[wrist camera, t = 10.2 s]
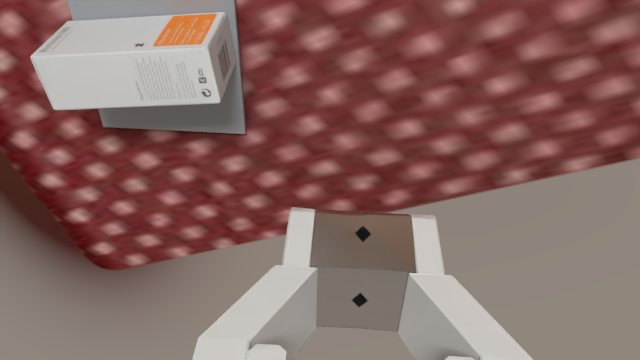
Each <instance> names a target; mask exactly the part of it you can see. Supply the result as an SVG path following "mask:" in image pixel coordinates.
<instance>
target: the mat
mask: <svg viewBox="0 0 640 360" xmlns="http://www.w3.org/2000/svg"><path fill="white" fill-rule="evenodd" d="M67 1H68V5H69V8H70V12H71V15H72V19H73V21H79V20H96V19H112V18H128V17H144V16H162V15H180V14H196V13H215V12H225V13H226V15H227V19H228V25H229V30H230V35H231V40H232V45H233V50H234V55H235V60H236V64H235V66H234V68H233V71H232V74H231V76H230V79H229V81H228V84H227V87H226V89H225V92H224V94H223V97H222V100H221V102H220V103H218V104H196V105H172V106H145V107H122V108H98V110H99V114H100V117H101V121H102V124H103V127H114V128H134V129H154V130H174V131H194V132H214V133H234V134H245V133H246V121H245V109H244V97H243V85H242V73H241V60H240V48H239V36H238V24H237V12H236V0H67Z"/></svg>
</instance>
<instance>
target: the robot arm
mask: <svg viewBox="0 0 640 360" xmlns="http://www.w3.org/2000/svg"><path fill="white" fill-rule="evenodd" d="M317 326H318V327H345V328H363V329H374V330H385V331H396V332H398V335H399V336H400V338H401V339H402V341H403V342H404V344H405V346H406V347H407V349H408V350H409V351H410V353H411V355H412V356H413V358H414V359H415V360H533V359H532V358H531V357H530V356H529V355H528V354H527V353H526V352H525V351H524V350H523V349H522V348H521V347H520V345H518V343H517V342H516V341H515V340H514V339H513V338H512V337H511V336H510V335H509V334H508V333H507V332H506V331H505V330H504V329H503V328H502V327H501V326H500V325H499V324H498V323H497V322H496V321H495V319H494V318H493V317H492V316H491V315H490V314H489V313H488V312H487V311H486V310H485V309H484V308H483V307H482V306H481V305H480V304H479V303H478V302H477V301H476V300H475V299H474V298H473V297H472V296H471V294H470V293H469V292H468V291H467V290H466V289H465V288H464V287H463V286H462V285H461V284H460V283H459V282H458V281H457V280H456V279H455V278H454V277H453V276H450V275H445V271H444V265H443V258H442V252H441V245H440V240H439V232H438V226H437V220H436V218H435V216H434V215H415V214H410V215H408V214H389V213H368V212H351V211H338V210H325V209H316V210H315V209H306V208H294V207H292V208H291V211H290V214H289V221H288V227H287V234H286V241H285V247H284V254H283V261H282V265H274V266H273V267H272V268H271V269H270V270H269V271H268V272H267V273H266V274H265V275H264V276H263V277H262V278H261V279H260V280H259V281H258V282H257V283H256V284H254V285H253V286H252V287H251V288H250V289H249V290H248V291H247V292H246V293H245V294H244V295H243V296H242V297H241V298H240V299H239V300H238V301H237V302H236V303H234V305H232V306H231V307H230V308H229V309H228V310H227V311H226V312H225V313H224V314H223V315H222V316H221V317H220V318H219V319H218V320H217V321H216V322H215V323H213V324H212V325H211V327H209V328H208V329H207V330H206V331H205V332H204V333H203V334H202V335H201V336H200V337H199V338H198V341H197V345H196V348H195V352H194V356H193V360H293V359H294V358H295V356H296V355H297V354H298V352H299V351H300V350H301V348H302V347H303V346H304V344H305V343H306V342H307V340H308V339H309V338H310V336H311V335H312V334H313V332H314V331H315V330H316V327H317Z"/></svg>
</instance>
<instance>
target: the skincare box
mask: <svg viewBox="0 0 640 360" xmlns="http://www.w3.org/2000/svg"><path fill="white" fill-rule="evenodd" d="M31 60H32V63H33V65H34V68H35V70H36V72H37V74H38V76H39V79H40V81H41V83H42V85H43V87H44V89H45V92H46V94H47V96H48V98H49V100H50V103H51V105H52V107H53V109H54V110H77V109H98V108H122V107H145V106H172V105H196V104H218V103H220V102H221V100H222V97H223V94H224V92H225V89H226V87H227V84H228V81H229V79H230V76H231V74H232V71H233V68H234V66H235V64H236V60H235V55H234V50H233V45H232V40H231V35H230V30H229V25H228V19H227V15H226V13H225V12H215V13H196V14H180V15H162V16H144V17H128V18H112V19H96V20H79V21H67V22H66V23H65V24H64V25H63V26H62V27H61V28H60V29H59V30H58V31H57V32H56V33H55V34H54V35H53V36H52V37H50V38H49V39H48V40H47V41H46V42H45V43H44V44H43V45H42V46H41V47H40V48H39V49H38V50H37V51H35V52H34V53H33V54H32V55H31Z"/></svg>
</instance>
